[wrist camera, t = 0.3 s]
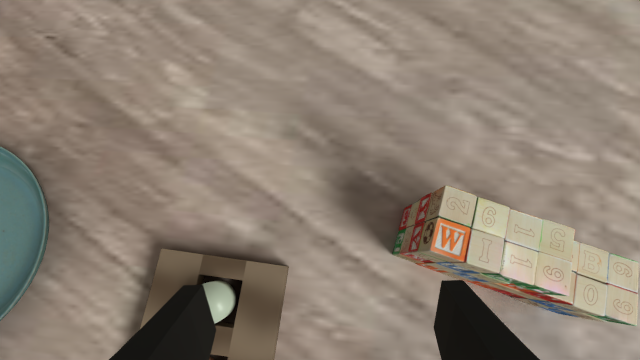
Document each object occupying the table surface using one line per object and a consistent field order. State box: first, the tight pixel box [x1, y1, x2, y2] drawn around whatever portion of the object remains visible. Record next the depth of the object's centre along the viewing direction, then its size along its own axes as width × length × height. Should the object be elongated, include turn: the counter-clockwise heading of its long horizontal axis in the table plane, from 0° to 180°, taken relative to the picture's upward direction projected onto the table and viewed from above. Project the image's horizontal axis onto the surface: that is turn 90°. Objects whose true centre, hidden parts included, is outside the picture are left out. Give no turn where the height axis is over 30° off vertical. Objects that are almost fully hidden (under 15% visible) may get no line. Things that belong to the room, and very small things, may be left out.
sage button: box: [202, 281, 236, 324], centre depth 33 cm, size 4×4×3 cm
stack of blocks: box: [392, 186, 639, 326], centre depth 34 cm, size 21×6×12 cm, turn 71°
